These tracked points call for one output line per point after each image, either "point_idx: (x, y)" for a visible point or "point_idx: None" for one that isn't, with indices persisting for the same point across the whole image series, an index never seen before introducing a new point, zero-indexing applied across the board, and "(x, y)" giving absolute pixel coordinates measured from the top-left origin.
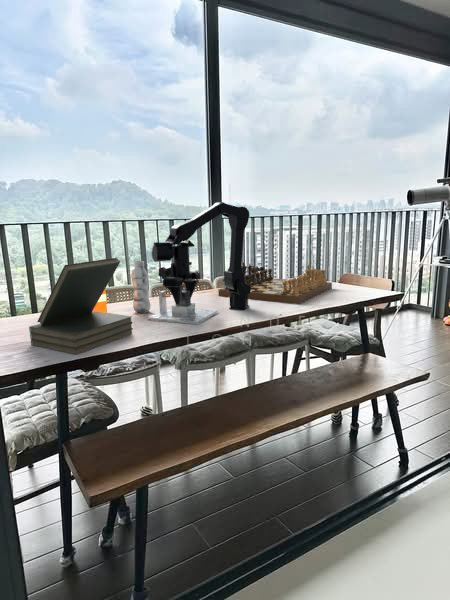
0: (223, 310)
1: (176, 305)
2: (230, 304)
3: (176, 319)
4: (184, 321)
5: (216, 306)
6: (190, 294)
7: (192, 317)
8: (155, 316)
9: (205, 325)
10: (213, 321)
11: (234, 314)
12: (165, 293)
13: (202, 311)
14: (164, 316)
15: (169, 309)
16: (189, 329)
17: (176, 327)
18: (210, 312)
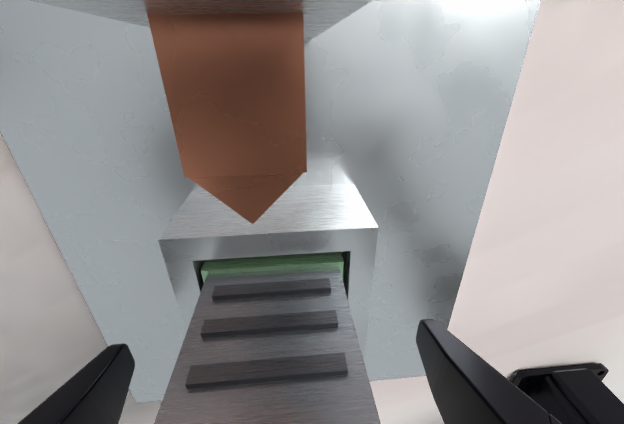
0: (490, 357)
1: (204, 278)
2: (560, 388)
3: (93, 294)
4: (110, 340)
5: (608, 288)
6: (444, 404)
7: None
8: (34, 52)
9: (154, 415)
10: None
11: (406, 419)
12: (341, 7)
13: (385, 324)
14: (105, 153)
15: (408, 16)
16: (35, 398)
17: (6, 336)
18: (369, 368)
